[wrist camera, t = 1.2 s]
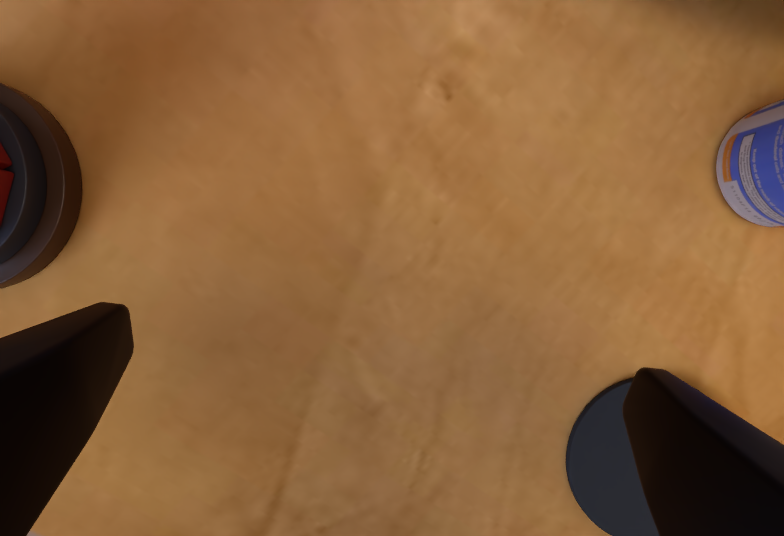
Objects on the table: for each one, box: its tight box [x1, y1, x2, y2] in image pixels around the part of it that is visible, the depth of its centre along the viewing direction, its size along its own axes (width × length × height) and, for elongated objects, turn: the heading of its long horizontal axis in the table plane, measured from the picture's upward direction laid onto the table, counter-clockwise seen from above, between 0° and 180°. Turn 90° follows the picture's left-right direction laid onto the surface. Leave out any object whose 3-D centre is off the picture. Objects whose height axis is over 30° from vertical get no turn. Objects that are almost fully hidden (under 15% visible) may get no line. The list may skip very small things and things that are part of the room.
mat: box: [566, 378, 702, 536], centre depth 23 cm, size 8×8×1 cm
